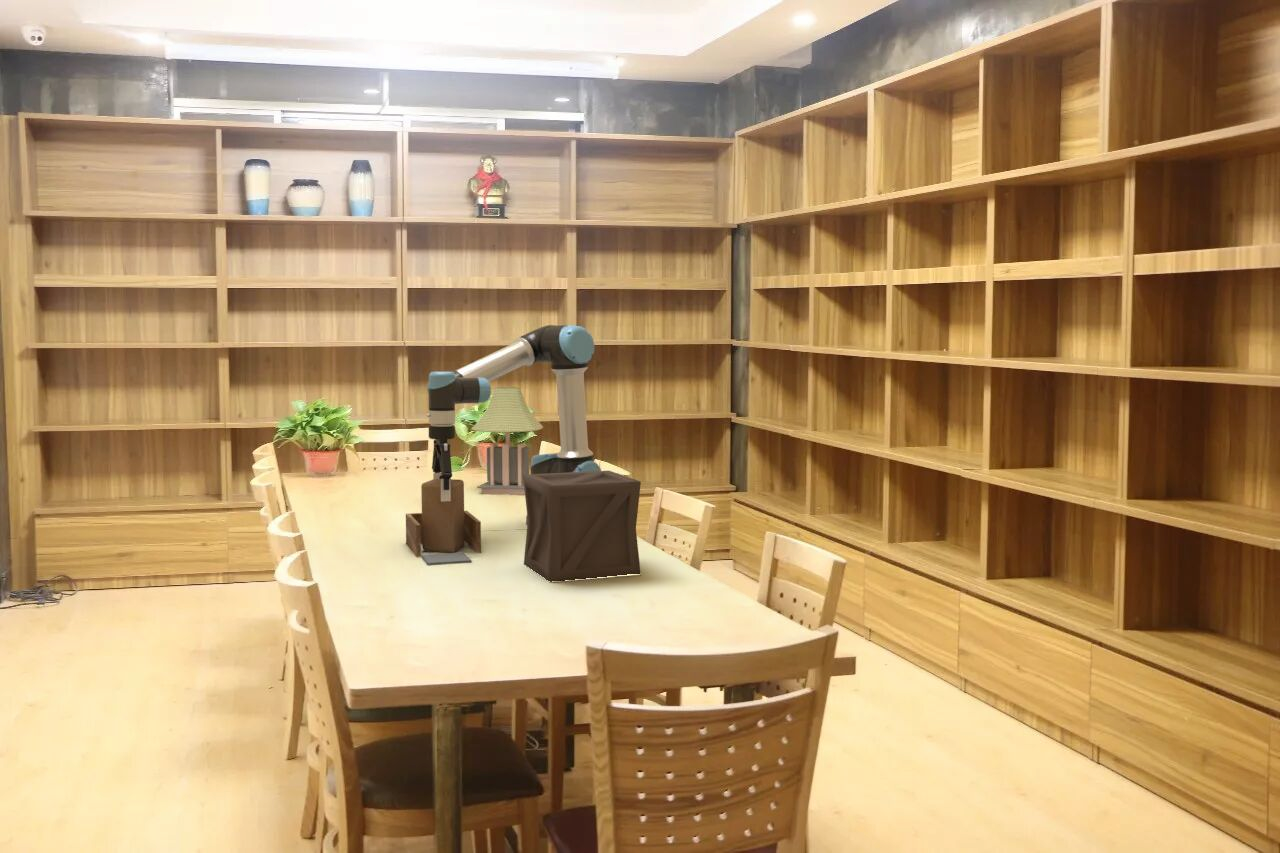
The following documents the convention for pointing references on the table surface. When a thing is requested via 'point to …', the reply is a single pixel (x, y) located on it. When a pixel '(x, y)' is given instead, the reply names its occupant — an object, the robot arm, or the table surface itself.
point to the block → (442, 517)
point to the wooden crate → (581, 525)
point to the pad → (446, 558)
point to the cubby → (415, 532)
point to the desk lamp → (507, 460)
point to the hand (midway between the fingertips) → (441, 498)
